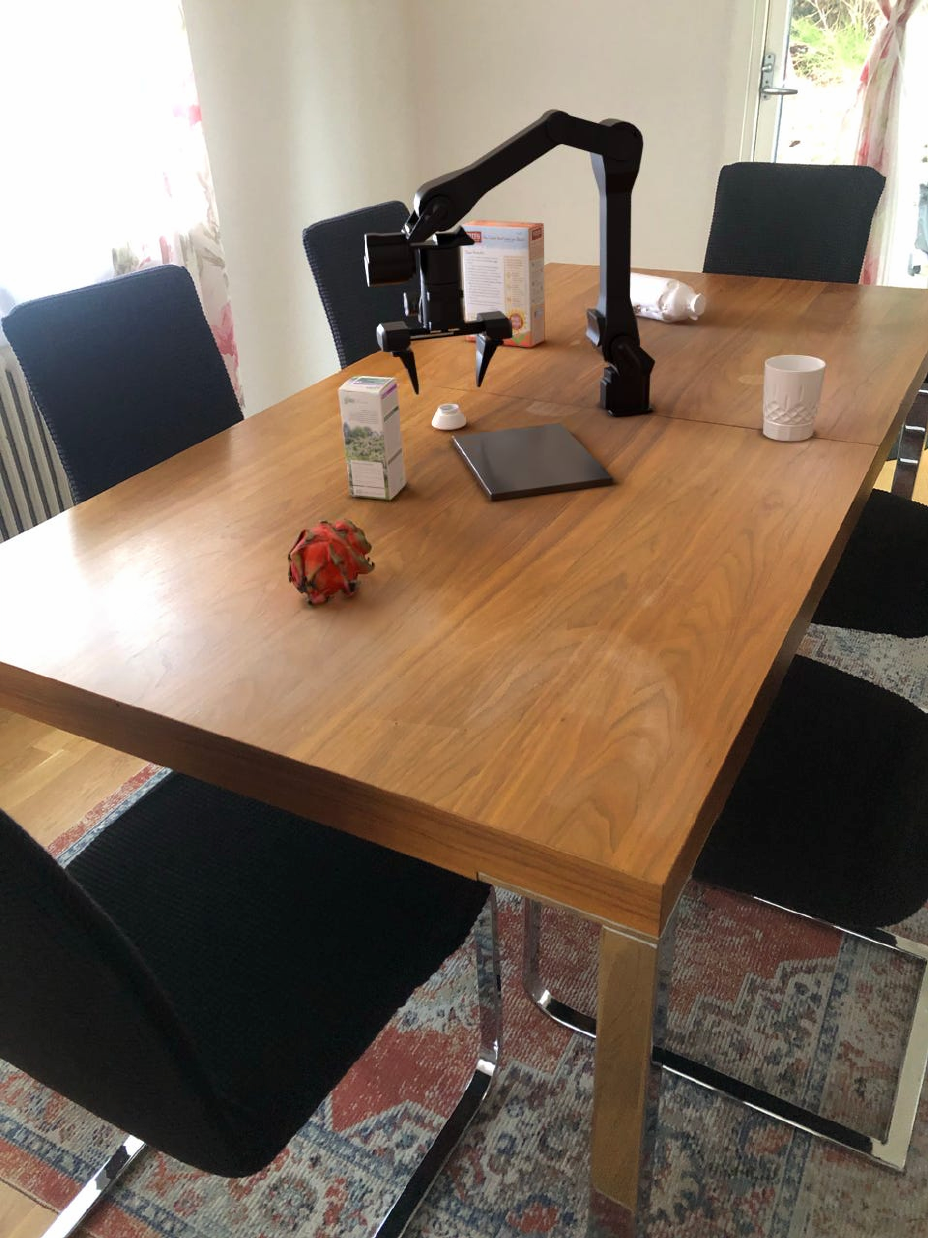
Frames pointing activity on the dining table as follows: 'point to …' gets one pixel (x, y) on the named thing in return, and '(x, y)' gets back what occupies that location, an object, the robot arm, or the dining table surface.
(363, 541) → the dragon fruit
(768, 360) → the white cup
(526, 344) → the cracker box
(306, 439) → the dining table surface
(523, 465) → the serving board
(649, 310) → the white bottle
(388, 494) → the syrup box
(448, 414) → the lidless jar
